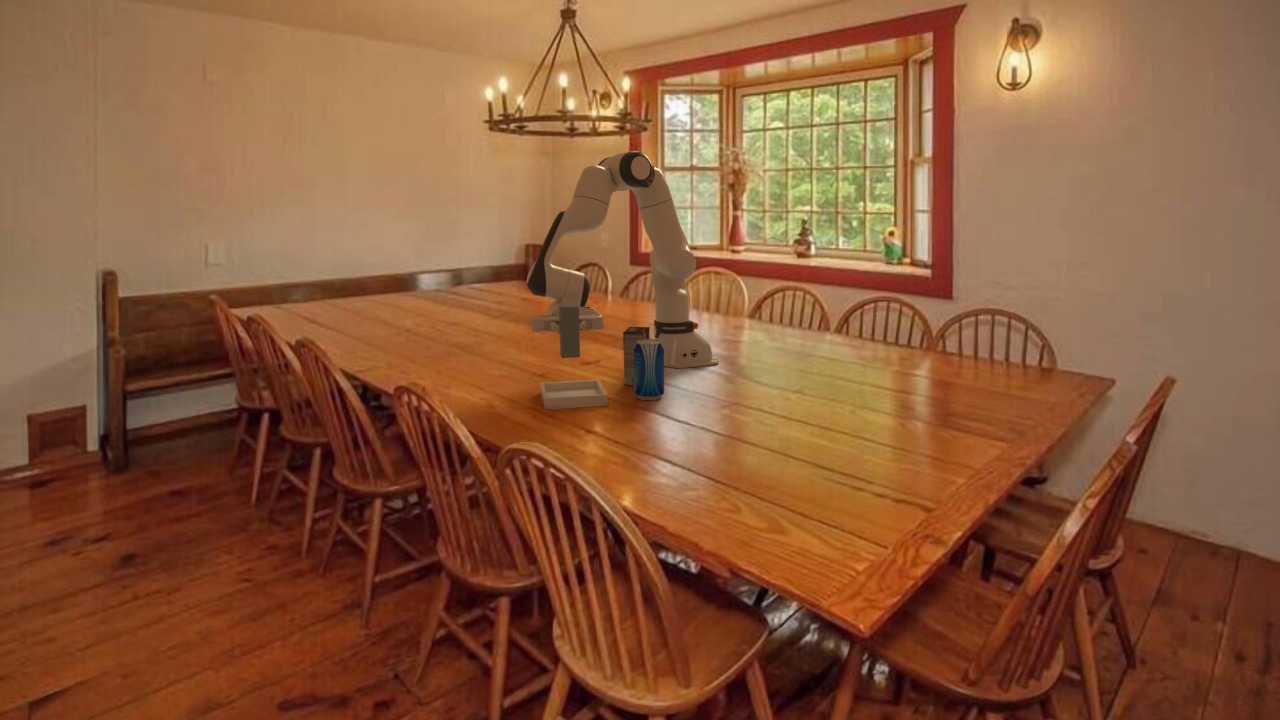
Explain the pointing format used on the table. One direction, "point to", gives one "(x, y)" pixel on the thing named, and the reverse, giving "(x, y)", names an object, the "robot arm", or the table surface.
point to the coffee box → (632, 350)
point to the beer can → (648, 369)
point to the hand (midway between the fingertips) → (569, 327)
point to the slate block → (569, 330)
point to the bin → (573, 394)
